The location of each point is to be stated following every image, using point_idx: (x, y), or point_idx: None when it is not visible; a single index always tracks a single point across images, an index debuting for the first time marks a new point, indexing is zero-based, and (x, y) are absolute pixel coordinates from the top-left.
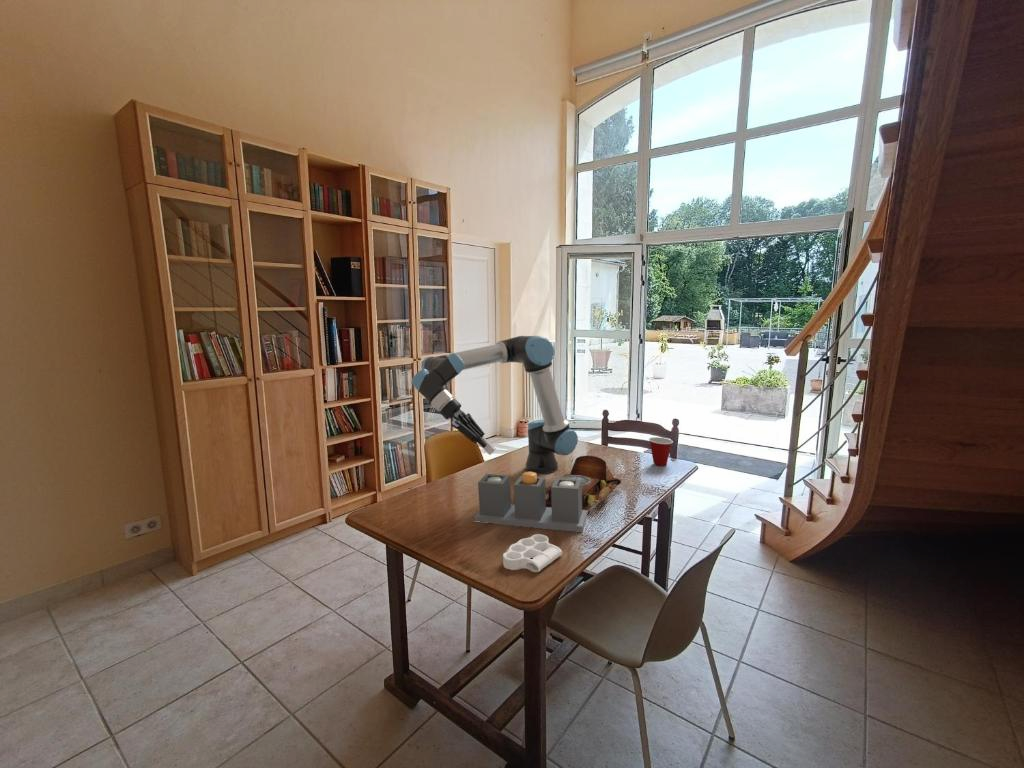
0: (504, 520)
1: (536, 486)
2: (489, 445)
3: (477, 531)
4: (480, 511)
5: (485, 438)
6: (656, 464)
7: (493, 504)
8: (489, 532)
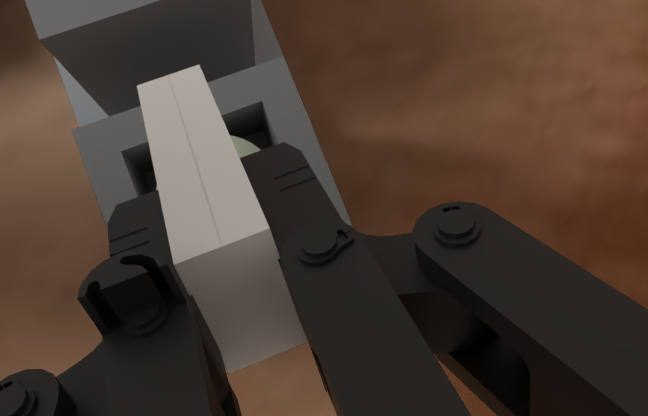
0: (305, 111)
1: None
2: (220, 118)
3: (436, 194)
4: None
5: (170, 214)
6: None
7: None
8: (410, 135)
